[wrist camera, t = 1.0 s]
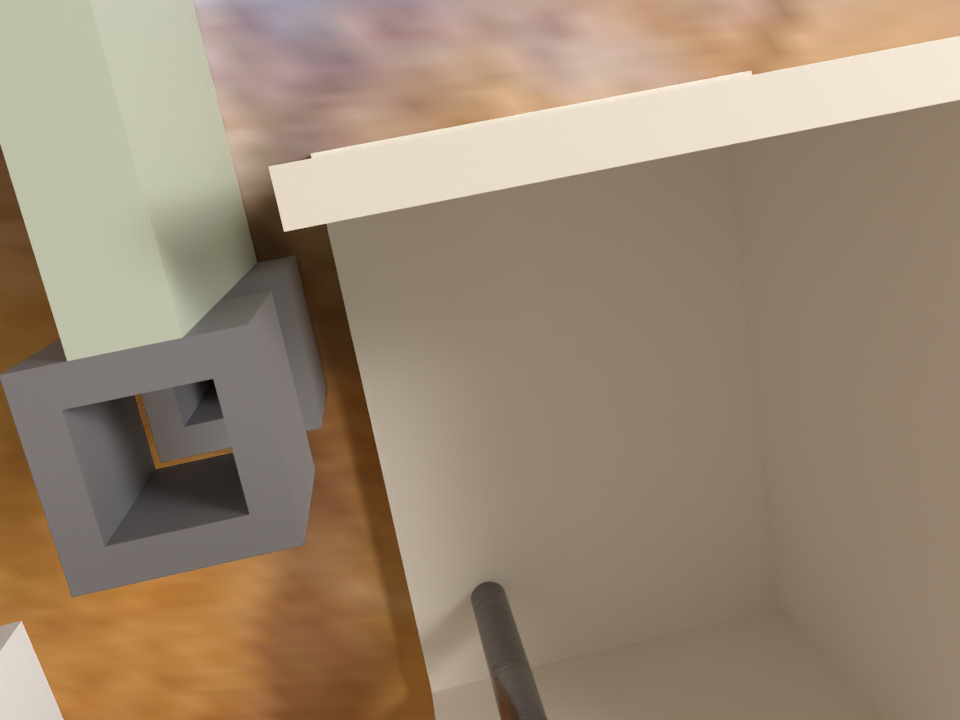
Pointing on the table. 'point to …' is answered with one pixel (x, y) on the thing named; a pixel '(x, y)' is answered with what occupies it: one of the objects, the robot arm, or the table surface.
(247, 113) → the table surface
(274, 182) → the carcass
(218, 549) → the door
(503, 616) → the hinge pin
